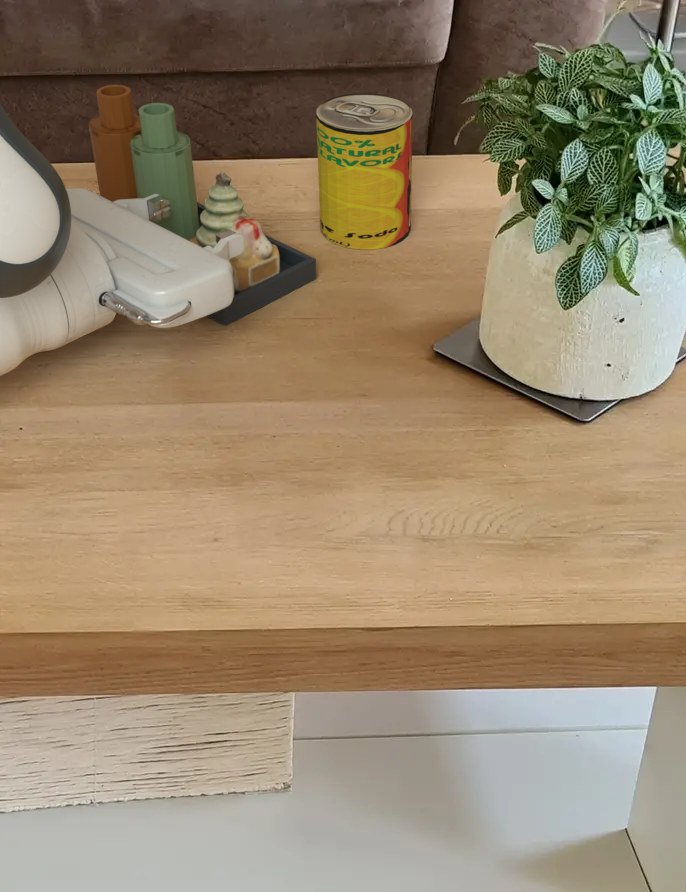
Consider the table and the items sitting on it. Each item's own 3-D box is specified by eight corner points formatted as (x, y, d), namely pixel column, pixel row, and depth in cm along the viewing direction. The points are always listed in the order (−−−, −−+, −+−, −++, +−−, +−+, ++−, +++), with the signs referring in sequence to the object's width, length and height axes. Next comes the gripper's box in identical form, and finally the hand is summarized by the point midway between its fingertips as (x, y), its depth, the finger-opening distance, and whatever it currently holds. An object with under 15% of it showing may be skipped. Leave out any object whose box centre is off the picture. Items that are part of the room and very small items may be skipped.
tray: (63, 237, 112) (59, 217, 111) (155, 199, 119) (153, 180, 118) (225, 326, 101) (222, 305, 100) (316, 278, 108) (316, 258, 107)
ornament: (291, 277, 107) (286, 176, 101) (247, 305, 103) (239, 201, 97) (226, 251, 110) (216, 152, 104) (180, 278, 106) (168, 176, 100)
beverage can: (392, 256, 112) (393, 137, 104) (305, 239, 114) (300, 122, 106) (422, 215, 118) (425, 101, 111) (340, 200, 120) (337, 87, 113)
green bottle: (134, 251, 111) (113, 109, 102) (177, 232, 114) (160, 93, 105) (170, 270, 108) (151, 126, 100) (212, 250, 111) (198, 109, 103)
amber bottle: (95, 230, 114) (71, 90, 105) (138, 212, 117) (119, 75, 108) (129, 248, 111) (107, 106, 103) (172, 229, 114) (154, 90, 106)
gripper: (144, 293, 85) (283, 228, 93) (-17, 203, 95) (122, 152, 103) (155, 365, 88) (287, 296, 97) (-1, 271, 98) (131, 216, 107)
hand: (201, 221), depth 100 cm, fingers open, 8 cm apart
